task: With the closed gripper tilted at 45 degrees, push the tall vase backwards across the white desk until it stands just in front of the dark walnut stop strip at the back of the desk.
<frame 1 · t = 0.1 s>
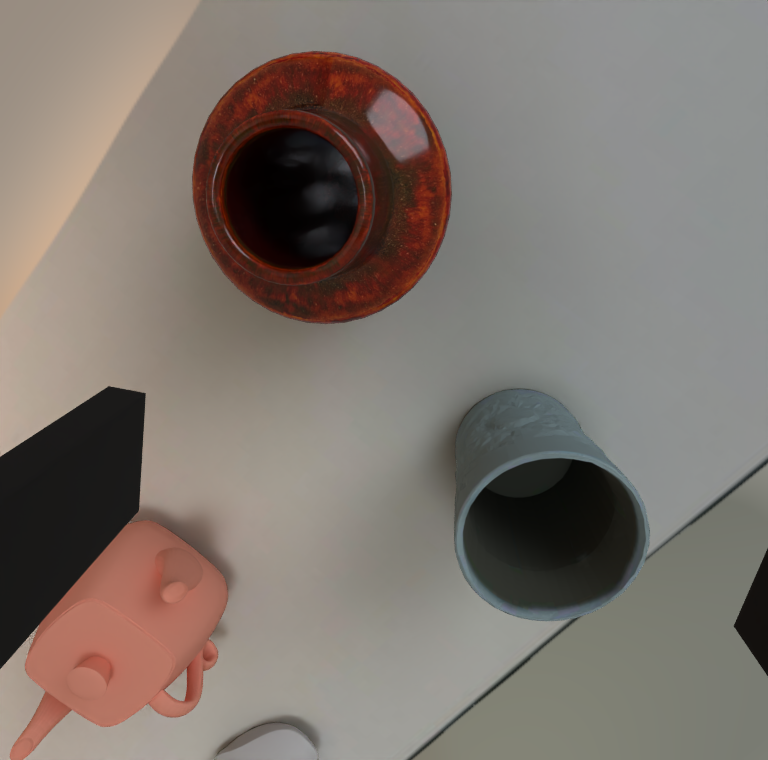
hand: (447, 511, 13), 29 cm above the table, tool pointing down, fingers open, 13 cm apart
vase: (358, 190, 39), on the table
teapot: (145, 566, 49), on the table
computer mouse: (270, 747, 54), on the table
grey-blue ceramic planter: (519, 446, 44), on the table
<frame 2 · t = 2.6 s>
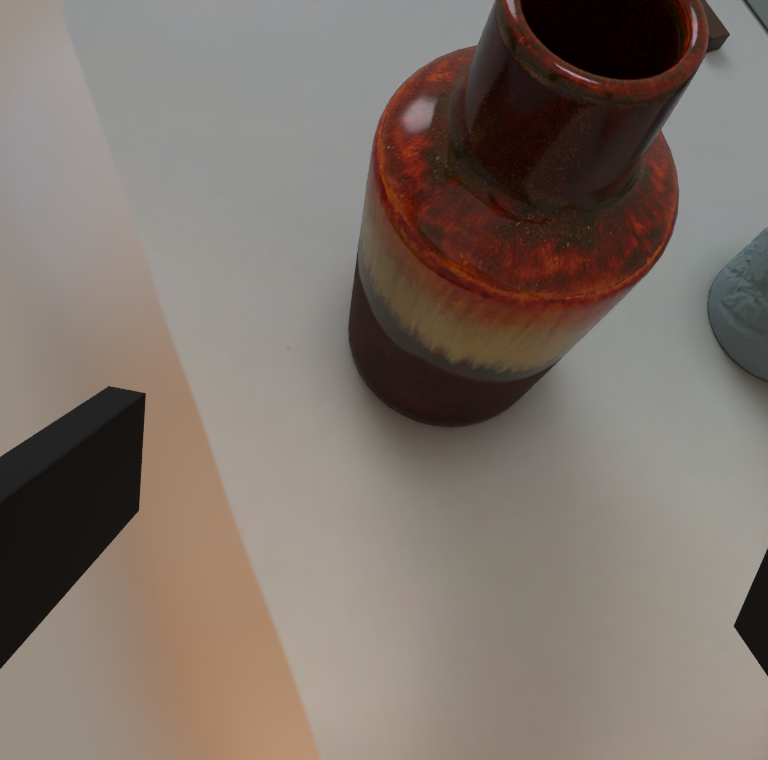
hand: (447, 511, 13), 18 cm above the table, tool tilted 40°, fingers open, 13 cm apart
vase: (444, 335, 35), on the table
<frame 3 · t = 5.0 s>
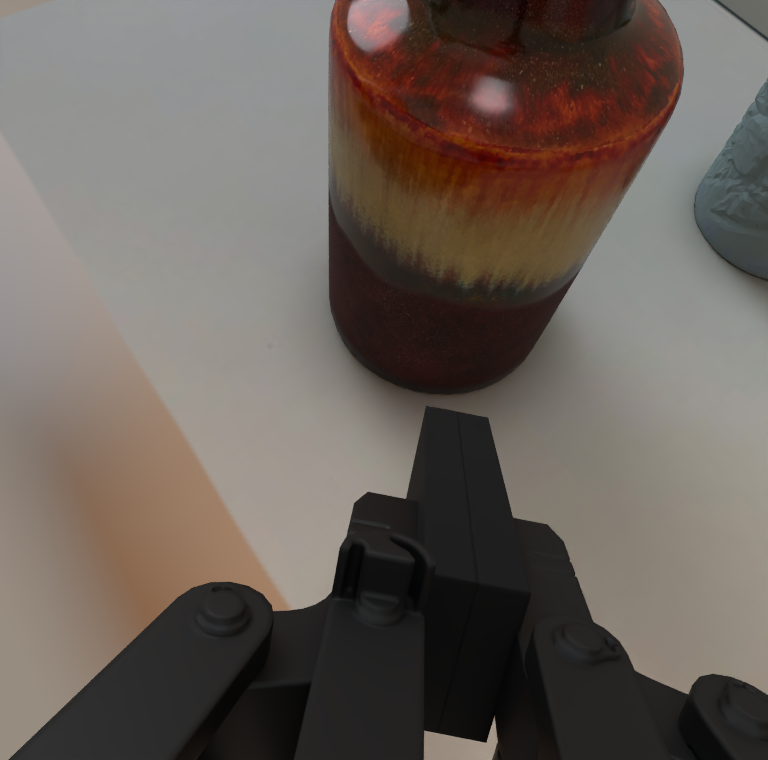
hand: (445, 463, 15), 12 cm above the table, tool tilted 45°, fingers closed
vase: (435, 301, 32), on the table
grey-blue ceramic planter: (766, 222, 36), on the table
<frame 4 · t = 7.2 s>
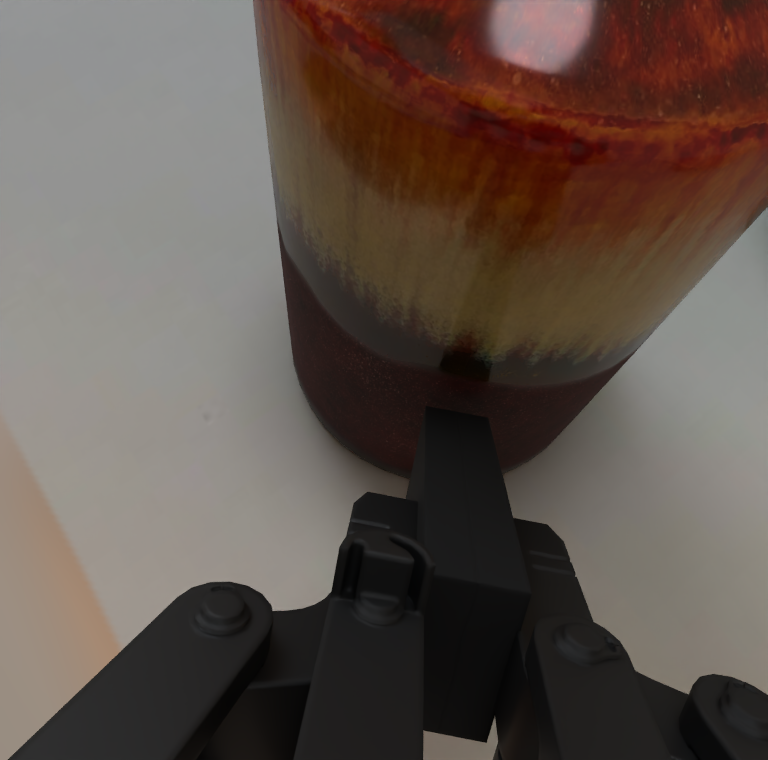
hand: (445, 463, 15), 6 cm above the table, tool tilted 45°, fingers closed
vase: (437, 347, 23), on the table, touching gripper
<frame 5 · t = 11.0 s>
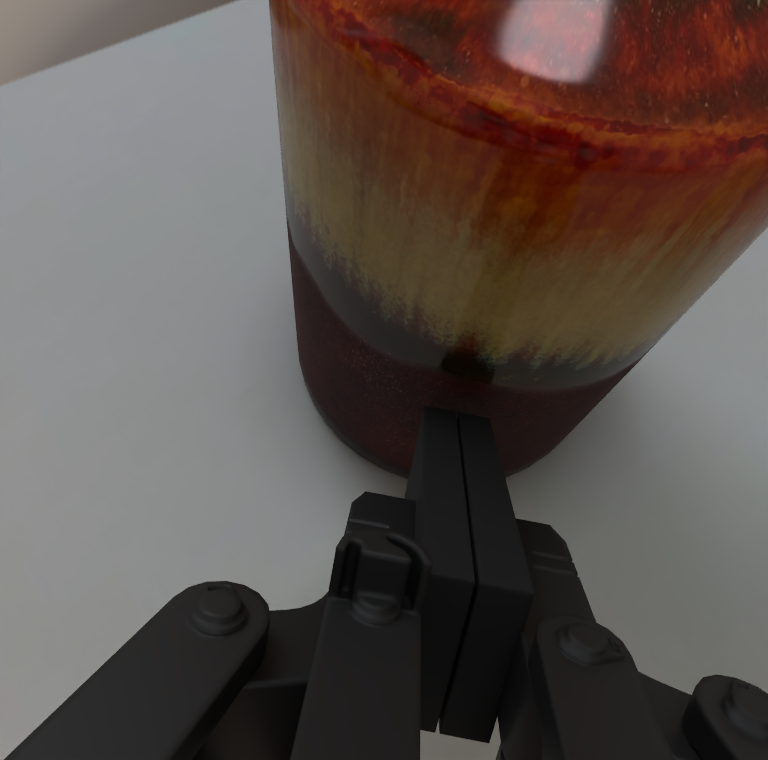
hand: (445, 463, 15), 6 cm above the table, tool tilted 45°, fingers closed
vase: (443, 348, 23), on the table, touching gripper
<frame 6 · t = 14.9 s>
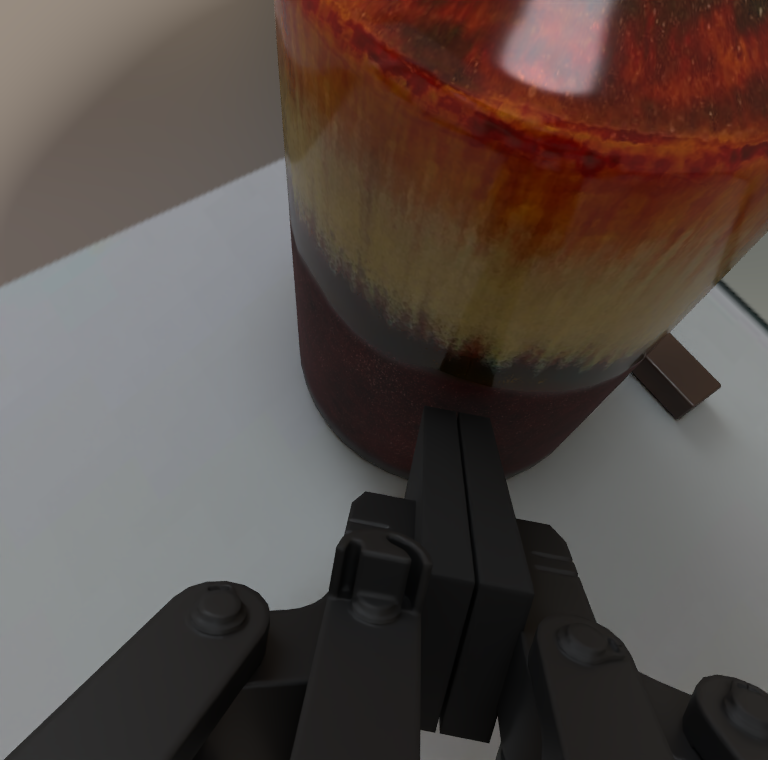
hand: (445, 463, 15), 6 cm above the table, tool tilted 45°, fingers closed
vase: (444, 351, 23), on the table, touching gripper
stop strip: (564, 277, 25), on the table
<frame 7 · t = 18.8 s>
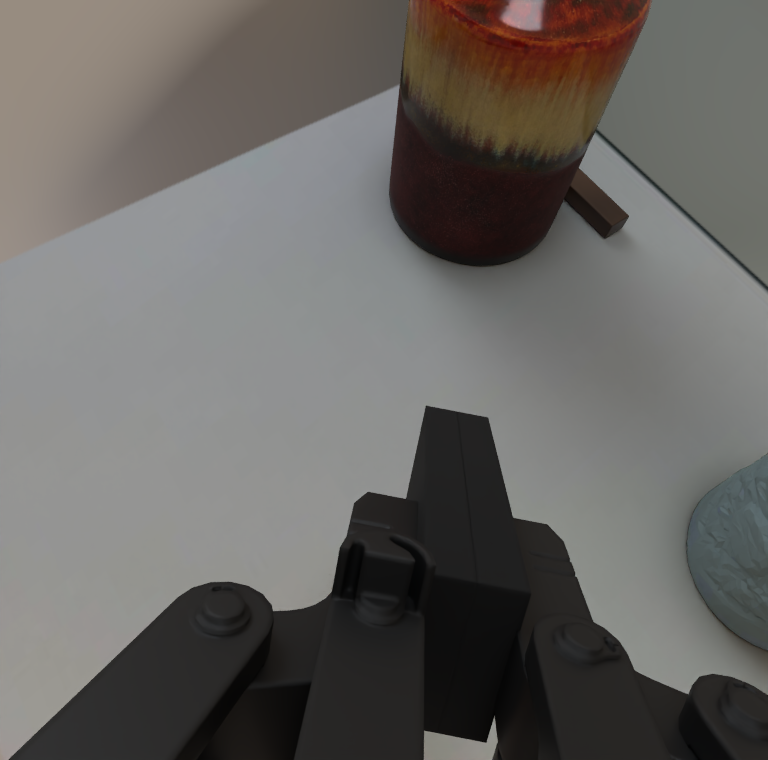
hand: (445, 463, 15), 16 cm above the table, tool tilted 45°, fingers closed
vase: (470, 201, 40), on the table
stop strip: (542, 164, 42), on the table
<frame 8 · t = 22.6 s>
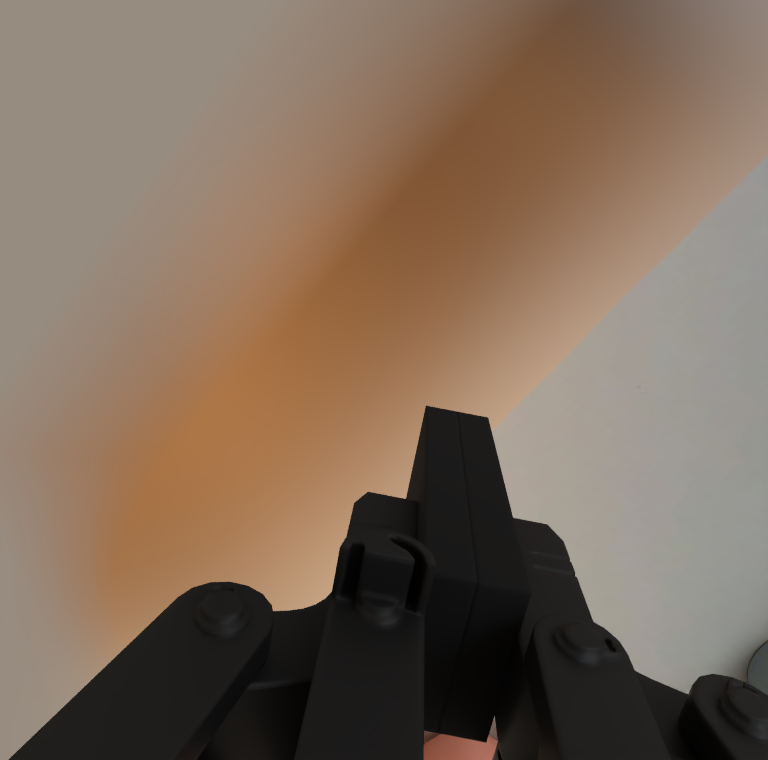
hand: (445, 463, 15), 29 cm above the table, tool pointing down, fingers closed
teapot: (449, 754, 56), on the table
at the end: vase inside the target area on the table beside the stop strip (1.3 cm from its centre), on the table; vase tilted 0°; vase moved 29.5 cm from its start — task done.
